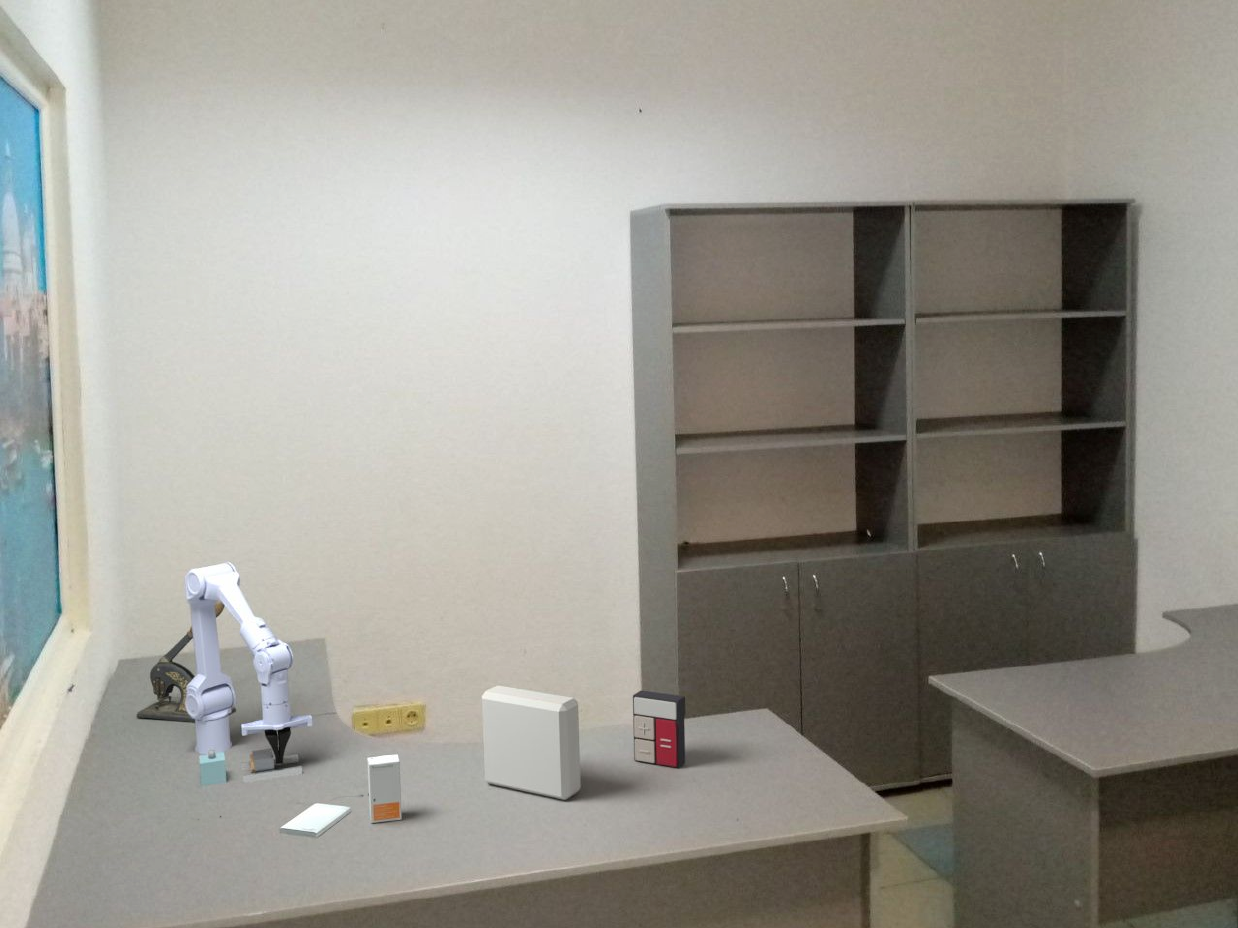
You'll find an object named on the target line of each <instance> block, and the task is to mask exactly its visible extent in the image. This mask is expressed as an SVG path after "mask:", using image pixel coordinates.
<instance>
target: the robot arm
mask: <svg viewBox="0 0 1238 928" xmlns="http://www.w3.org/2000/svg"><path fill="white" fill-rule="evenodd" d="M240 577H241V576H240V573H238V570H237V568H236V567H235V566H234V564H232V562H228V561H226V562H222V563H219V564H214V565H209V566H204V567H200V568H199V567H198V568H197V567H196V568H192V569H190V570H189V571H188V572H187V573H186V575H185V576H184V587H185V597H186V603H187V604H189V611H190V620H191V626H192V632H193V639H192V642H193V651H194V661H195V670H196V674H195V675H194V676H195V677H194V678H193V679H192V681H191V682H190V683H189V684H188V685H187V686H186V688H187V695H186V700H185V706H186V710H187V712H188V714H189V715H190V716H191V717H192V718H193V719H195V722H194V723H195V725H194V726H195V736H196V738H195V739H196V745H195V746H194V750H195V751H194V752H197V753H198V754H200V755H208V751H209V750H215V753H222V752H224V753H225V752H226V751H228V750H230V749H231V747H233V742H232V741H231V731H230V717H229V716H230V715H229V713H231V708H233V707H235V705H236V702H237V695H236V694H237V693H236V691H235V688H234V686H233V682H232V681H233V680H232V677H230V676H229V675H227V674H225V673H223V672H222V666H221V655H220V648H219V647H220V646H219V644H220V643H219V637H218V636H219V635H218V625H217V618H216V614H215V603H216V602H217V601H222V603H223V604H224V605H225V608H226V609H227V610H228V611H229V613H230V614H231V615H232V616H233V618H234V619H235V621H236V622H237V623H238V624H239V625H240V628H239V636H240V637H241V638H242V640H243V642H244V643H245V644H246V646H247V647H248V649H249V651H250V652H251V654H252V655H253V656H254V658H253V661H252V663H253V667H254V669H255V672H256V674H257V680H258V683H260V692H261V693H260V694H261V707H262V708H261V709H262V711H261V712H262V719H260V720H256V721H251V722H248V723H242V724H241V727H240V728H241V736H242V737H243V736H249V735H251V734H257V733H264V736H265V739H266V740H267V742H268V743H269V745H270V748H271V749H272V753H273V756H274V758H275V759H276V764H281V765H283V764H282V763H283V757H284V755H285V751H286V748H287V745H288V742H289V739H290V738H291V735H292V731H291V730H292V729H293V728H294V729H295V728H302V727H313V717H312V715H311V714H309V715H291V704H290V703H291V701H290V685H289V684H290V683H289V669H290V668H292V666H293V664H294V655H293V651H292V649H291V647H290V645H288V643H286V642H284V641H282V640H281V639H277V637H276V636H275V635H274V633H273V632H272V630H271V629H270V628H269V625H268V624H267V623H266V621H265V619H263V618H262V617H258V616H255V613H254V612H253V610H252V608H251V606H250V605H249V603H248V601H247V599H246V597H245V595H244V593H243V592H242V591H243V590H241V588H240V585H241V584H240V582H241V578H240Z"/></svg>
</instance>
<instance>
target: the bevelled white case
mask: <svg viewBox="0 0 1238 928" xmlns="http://www.w3.org/2000/svg"><path fill="white" fill-rule="evenodd" d="M481 706H482V707H481V708H482V709H481V710H482V732H483V733H482V735H483V738H482V739H483V756H484V757H483V761H484V781H485V782H487V784H489V785H494V786H498V787H503V788H506V789H507V788H508V789H512V790H515V791H516V790H517V791H520V792H526V793H529V794H533V795H534V794H535V795H540V796H544V797H548V798H554V799H556V800H557V799H558V800H561V801H566V800H568V799H570V798H571V797H573V796H575V795H576V794H577V793H578V792H579V791H580V790H581V788H582V787H581V759H580V758H581V756H580V728H579V727H580V726H579V725H580V723H579V722H580V721H579V719H580V717H579V703H578V700H576V699H575V698H574V697H571V696H565V695H564V696H563V695H558V694H552V693H545V692H540V691H534V690H528V689H522V688H521V689H520V688H515V687H509V686H503V685H496V686H494V687H491V688H489V689H487V690H485V691H484V693H482V695H481Z"/></svg>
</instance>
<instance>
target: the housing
mask: <svg viewBox="0 0 1238 928" xmlns="http://www.w3.org/2000/svg"><path fill="white" fill-rule="evenodd" d="M198 759H199V771H200V772H199V773H200V785H201V787H203V786H210V785H216V784H222V783H223V784H224V783H227V771H226V770H227V768H226V757H225V752H222V753H215V750H209V751H208V755H207V754H200V755H199V756H198Z"/></svg>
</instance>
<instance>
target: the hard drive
mask: <svg viewBox="0 0 1238 928" xmlns="http://www.w3.org/2000/svg"><path fill="white" fill-rule="evenodd" d="M351 810H352V809H351V807H350V806H344V805H336V804H327V803H316V802H315V803H314V804H313V805H311V806H309V807H308V808H307V809H305V810H304V811H302V812H301V813H299V814H298V815H297V816H296V817H294V818H292V819H291V820H290V821H288V822H287V823H285V824H284V825H282V826H281V827H280V828H278V831H279V834H284V835H291V836H292V835H293V836H299V837H309V838H314V839H315V838H316V839H317V838H318V837H320V836H321V835H322V834H324V833H325V832H326V831H328V830H329V829H331V828H332V827H333V826H334V825H336V824H337V823H338V822H340V820H342V819H343V818H344V817H346V816H347V815H349V814H350V813H351Z"/></svg>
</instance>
